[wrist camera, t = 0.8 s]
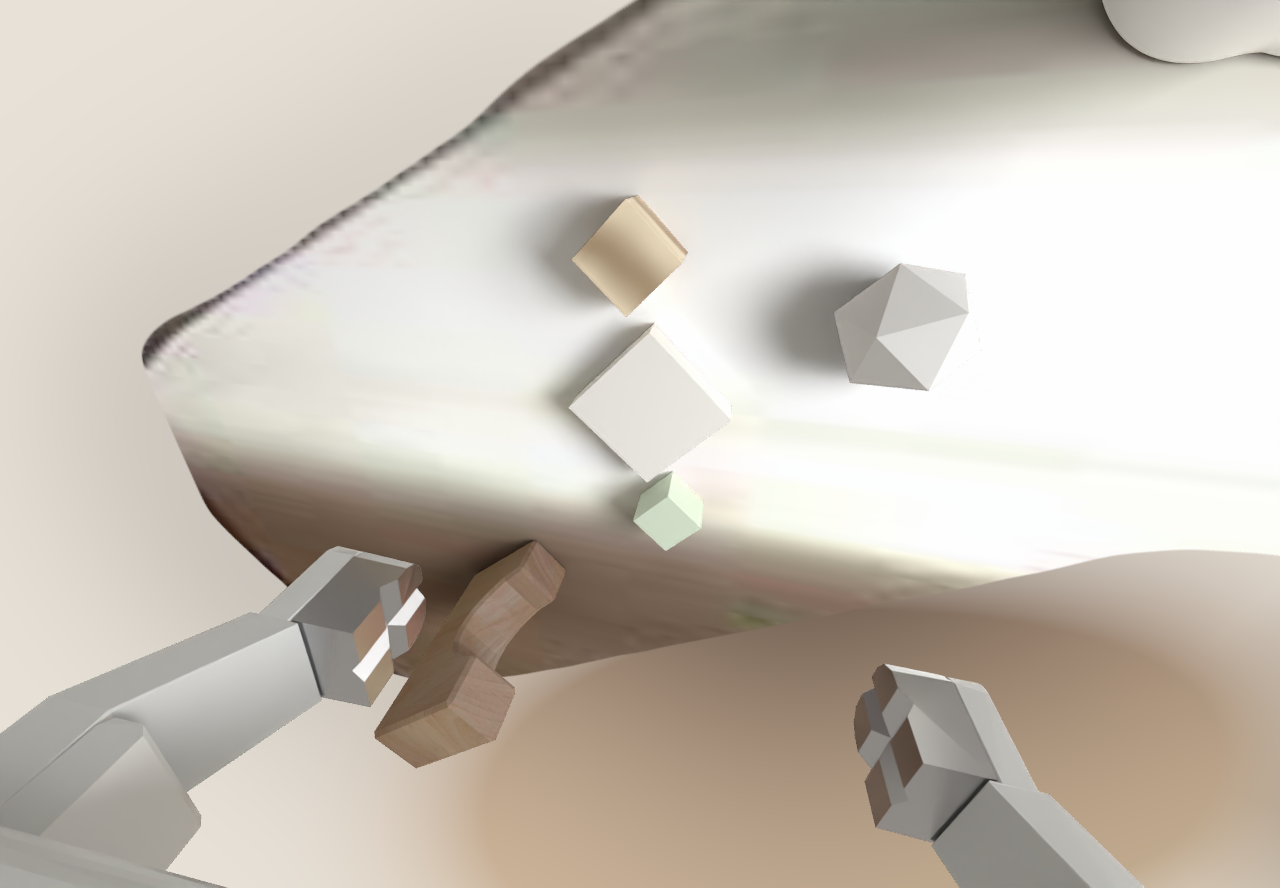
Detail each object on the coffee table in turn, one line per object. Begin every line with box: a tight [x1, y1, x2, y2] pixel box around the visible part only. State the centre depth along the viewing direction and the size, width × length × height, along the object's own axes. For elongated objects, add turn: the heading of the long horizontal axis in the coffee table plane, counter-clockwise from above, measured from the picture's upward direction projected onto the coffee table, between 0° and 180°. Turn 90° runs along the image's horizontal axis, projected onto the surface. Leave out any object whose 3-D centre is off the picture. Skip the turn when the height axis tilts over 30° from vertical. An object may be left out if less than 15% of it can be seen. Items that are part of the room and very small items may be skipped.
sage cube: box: [633, 471, 703, 551], centre depth 48 cm, size 4×4×4 cm
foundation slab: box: [569, 323, 732, 482], centre depth 44 cm, size 10×10×3 cm
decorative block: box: [375, 541, 565, 768], centre depth 50 cm, size 11×6×20 cm, turn 127°
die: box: [834, 263, 981, 391], centre depth 35 cm, size 8×9×10 cm
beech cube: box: [572, 196, 687, 317], centre depth 37 cm, size 6×6×6 cm
